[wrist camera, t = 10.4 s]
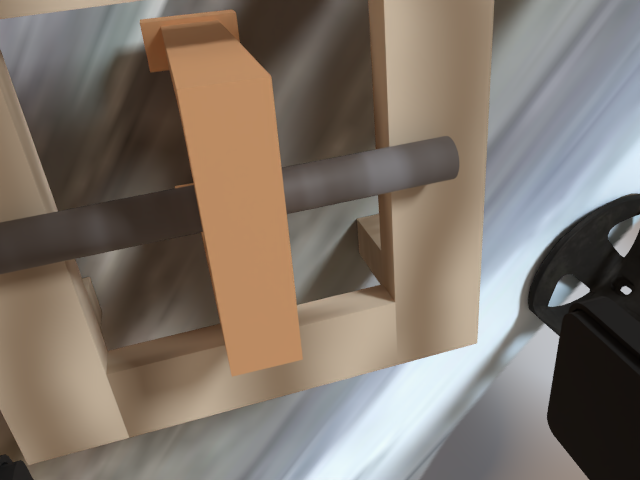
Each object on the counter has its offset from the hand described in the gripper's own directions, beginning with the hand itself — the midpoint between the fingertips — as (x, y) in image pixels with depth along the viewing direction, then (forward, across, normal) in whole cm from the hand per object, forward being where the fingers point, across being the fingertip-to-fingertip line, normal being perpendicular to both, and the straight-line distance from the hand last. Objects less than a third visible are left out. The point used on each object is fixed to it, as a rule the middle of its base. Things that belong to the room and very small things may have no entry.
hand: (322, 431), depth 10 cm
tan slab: (+20, 0, +1) cm, 21 cm away
